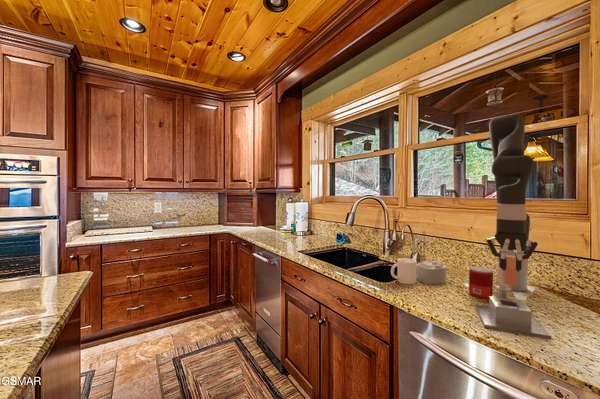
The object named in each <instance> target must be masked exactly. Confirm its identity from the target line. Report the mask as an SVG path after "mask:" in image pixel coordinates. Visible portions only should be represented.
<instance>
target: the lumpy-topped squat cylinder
mask: <svg viewBox="0 0 600 399" xmlns="http://www.w3.org/2000/svg"><path fill="white" fill-rule="evenodd" d="M417 280H418V281H420V282H422V283H423V284H426V285H441V284H444V283H446V282H447V266H446V264H443V263H442V262H438V261H430V260H423V261H422V262H419V263H416V281H417Z"/></svg>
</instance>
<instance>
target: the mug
mask: <svg viewBox="0 0 600 399" xmlns="http://www.w3.org/2000/svg"><path fill="white" fill-rule="evenodd" d="M396 268H397V272H396V273H397V274H396V275H395V269H396ZM390 274H391V276H392V278H394V279H397V282H399V283H400V284H402V283H403V285H410V286H411V285H415V284H416V283H417V260H416V259H414V258H407V257H406V258H405V257H400V258H399V257H398V258H397V263H394V264H393V265H392V266H391V269H390Z"/></svg>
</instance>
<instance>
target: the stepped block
mask: <svg viewBox="0 0 600 399" xmlns="http://www.w3.org/2000/svg"><path fill="white" fill-rule="evenodd" d="M505 259H506V269H505V270H503V282H504V284H506V285H514V286H517V270H516V257H514V256H508V255H505Z"/></svg>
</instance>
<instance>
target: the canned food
mask: <svg viewBox="0 0 600 399" xmlns="http://www.w3.org/2000/svg"><path fill="white" fill-rule="evenodd" d="M468 272H469V276H468V277H469V278H468V280H469V281H468V292H469V295H471V296H472V297H475V298H478V299H484V300H485V299H486V300H489V296H492V297H493V289H494V284H493V283H494V270H493V269H491V268H489V267H486V266H477V265H476V266H475V265H473V266H470V267H469V271H468Z"/></svg>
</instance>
